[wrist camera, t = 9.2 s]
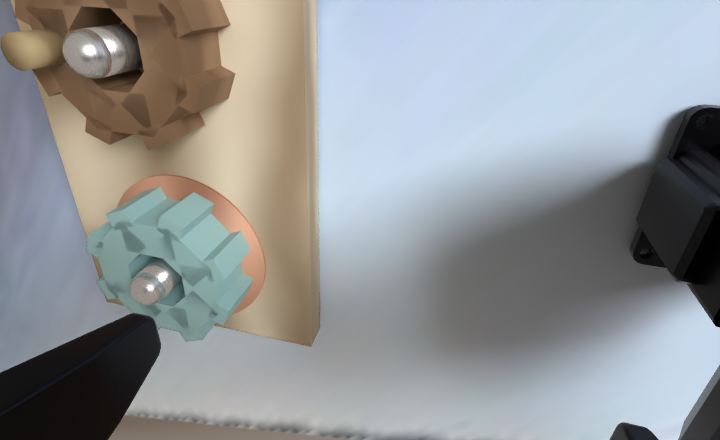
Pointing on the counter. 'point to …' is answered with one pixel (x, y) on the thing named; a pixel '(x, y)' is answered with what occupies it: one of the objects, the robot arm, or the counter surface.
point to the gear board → (231, 163)
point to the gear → (133, 88)
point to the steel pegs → (102, 59)
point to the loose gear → (173, 260)
